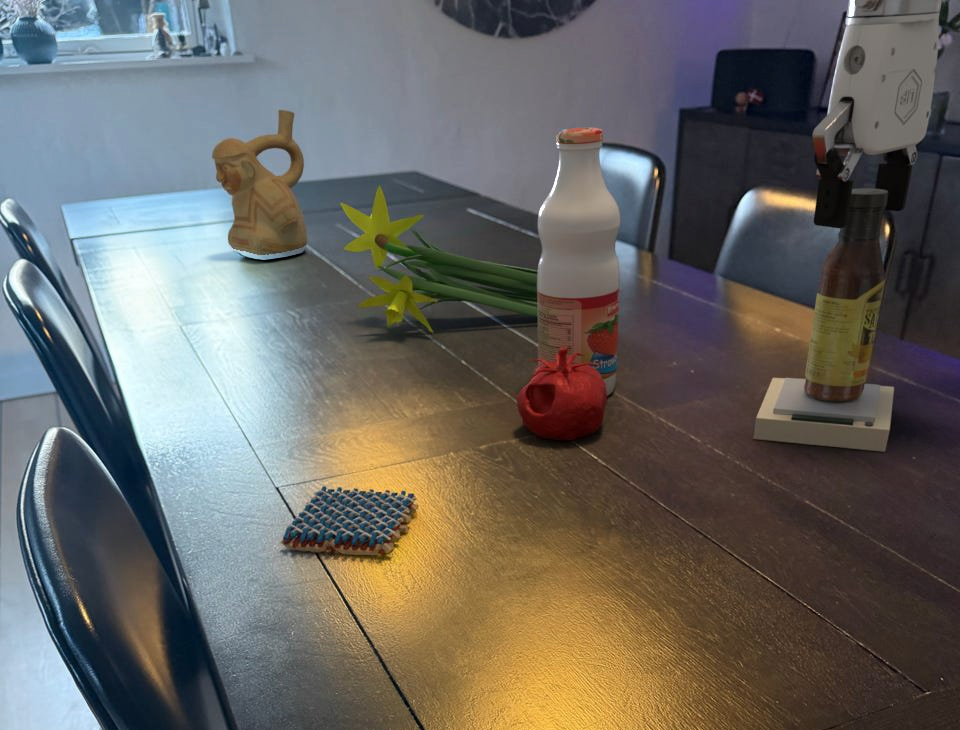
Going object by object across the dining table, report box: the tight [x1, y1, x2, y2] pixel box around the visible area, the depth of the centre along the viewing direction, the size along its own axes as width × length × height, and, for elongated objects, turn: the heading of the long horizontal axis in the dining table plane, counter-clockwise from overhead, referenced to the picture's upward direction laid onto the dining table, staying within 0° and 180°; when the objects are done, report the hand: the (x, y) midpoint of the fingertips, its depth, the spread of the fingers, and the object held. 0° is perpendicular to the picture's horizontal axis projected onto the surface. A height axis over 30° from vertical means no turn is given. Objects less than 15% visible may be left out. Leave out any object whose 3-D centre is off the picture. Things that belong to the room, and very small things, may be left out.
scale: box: [753, 377, 895, 453], centre depth 100 cm, size 13×13×3 cm
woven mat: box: [280, 486, 419, 556], centre depth 85 cm, size 10×11×2 cm
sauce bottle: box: [804, 187, 888, 402], centre depth 94 cm, size 6×6×20 cm
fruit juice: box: [536, 127, 621, 397], centre depth 105 cm, size 9×9×28 cm
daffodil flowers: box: [339, 185, 538, 333], centre depth 135 cm, size 17×15×35 cm
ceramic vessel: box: [211, 109, 308, 255], centre depth 180 cm, size 17×20×25 cm
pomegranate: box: [516, 346, 608, 441], centre depth 100 cm, size 10×10×9 cm
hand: (859, 217), depth 89 cm, fingers open, 9 cm apart
